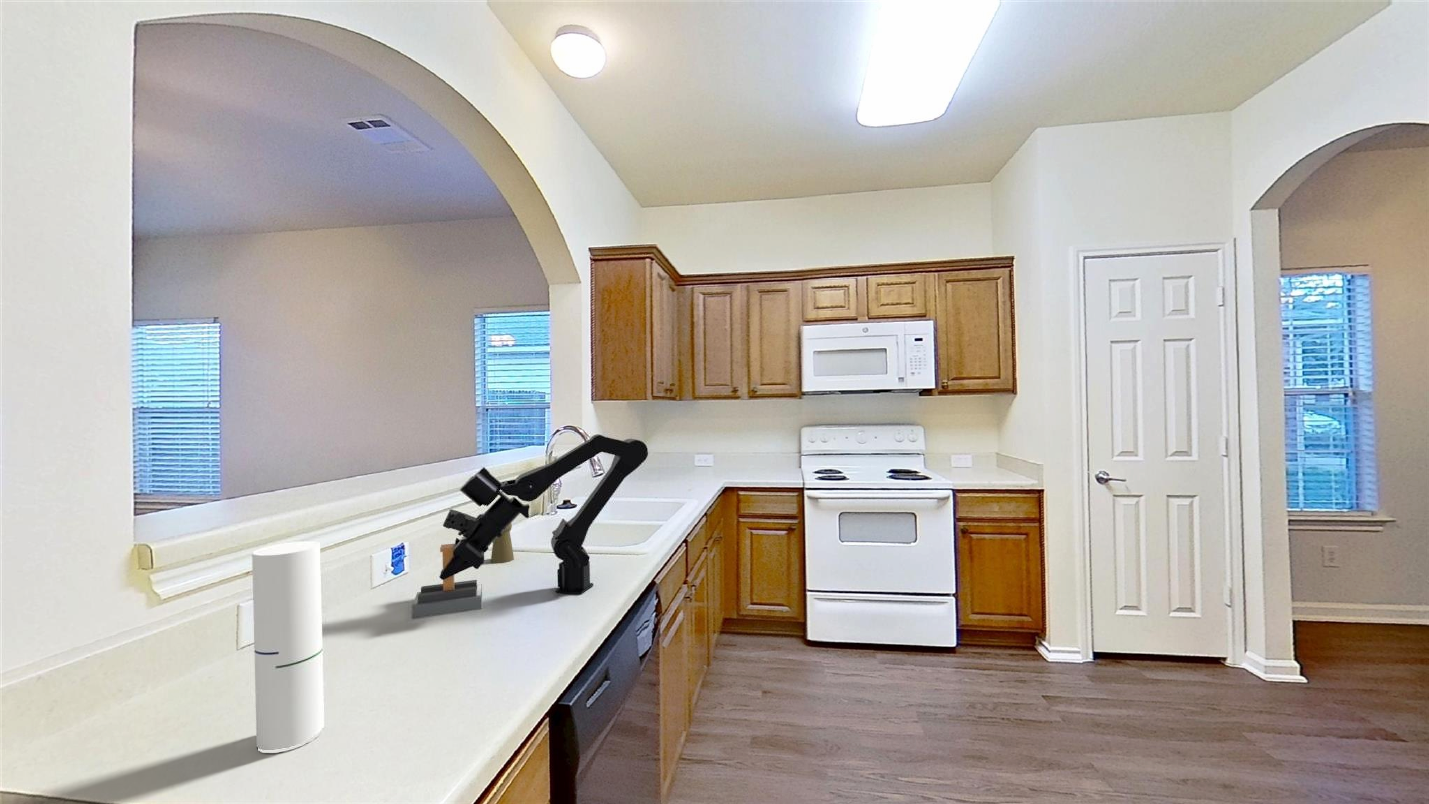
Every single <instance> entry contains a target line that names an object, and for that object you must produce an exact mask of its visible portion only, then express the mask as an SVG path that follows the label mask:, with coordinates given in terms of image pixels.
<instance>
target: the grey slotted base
mask: <svg viewBox="0 0 1429 804" xmlns="http://www.w3.org/2000/svg"><path fill="white" fill-rule="evenodd" d="M454 588H455V589H453V590H445V591H443V583H437V584H431V585H429V584H428V585H424V586H421V588H420V591H418V592H417V593H416V594H415V597H414V600H413V602H412V605H411V618H412V619H419V618H425V617H426V618H427V617H433V616H440V615H448V614H454V613H455V614H456V613H461V612H468V611H469V610H470V611H477V610H481V609H482V603H483V601H482V600H483V584H478V581H477V579H472V580H462V581H457V582H456V581H454Z"/></svg>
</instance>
